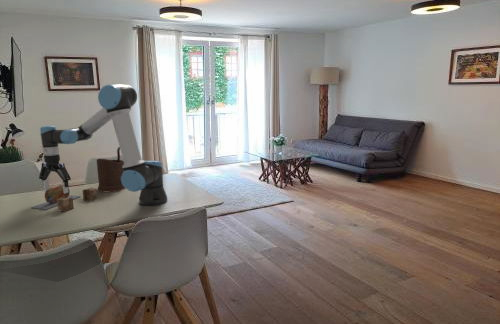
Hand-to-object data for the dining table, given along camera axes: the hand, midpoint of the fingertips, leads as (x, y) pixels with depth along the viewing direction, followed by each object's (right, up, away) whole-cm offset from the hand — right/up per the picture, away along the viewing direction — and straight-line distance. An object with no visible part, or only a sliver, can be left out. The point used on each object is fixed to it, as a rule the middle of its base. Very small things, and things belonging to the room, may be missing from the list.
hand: (56, 192), depth 201 cm
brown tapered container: (+20, +1, +33) cm, 39 cm away
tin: (0, -5, +2) cm, 6 cm away
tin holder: (+13, -6, -2) cm, 15 cm away
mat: (0, -6, +1) cm, 6 cm away
